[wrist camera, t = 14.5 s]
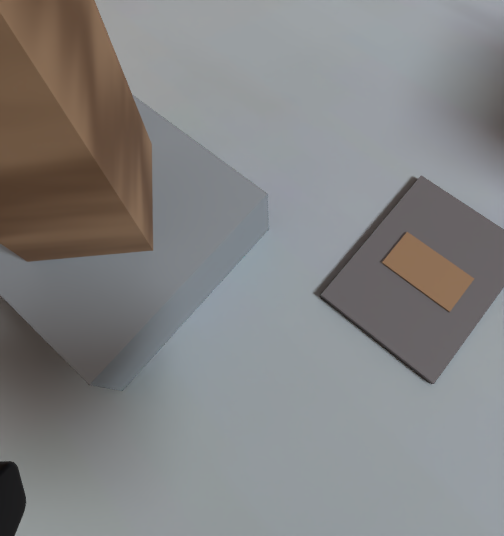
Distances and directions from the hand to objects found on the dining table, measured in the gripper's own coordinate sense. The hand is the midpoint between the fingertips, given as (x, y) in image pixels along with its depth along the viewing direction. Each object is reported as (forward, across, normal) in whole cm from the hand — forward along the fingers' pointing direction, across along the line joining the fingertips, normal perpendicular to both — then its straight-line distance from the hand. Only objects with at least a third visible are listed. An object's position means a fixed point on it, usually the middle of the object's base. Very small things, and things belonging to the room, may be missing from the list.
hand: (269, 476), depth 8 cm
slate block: (+15, +7, 0) cm, 16 cm away
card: (+13, -7, +1) cm, 15 cm away
